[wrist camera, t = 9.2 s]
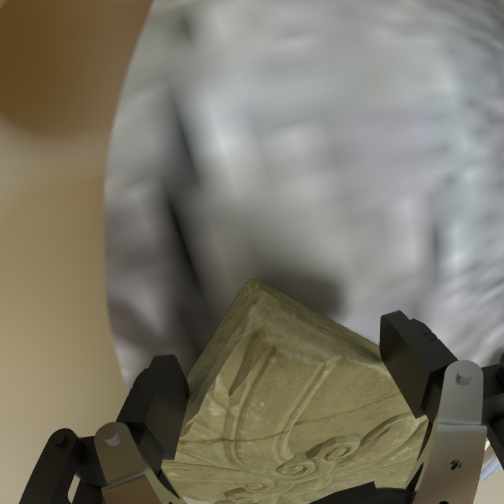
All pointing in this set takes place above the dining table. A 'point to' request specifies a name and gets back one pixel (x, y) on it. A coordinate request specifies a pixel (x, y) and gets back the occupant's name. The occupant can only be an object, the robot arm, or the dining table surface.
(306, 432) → the decorative tile
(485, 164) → the dining table surface
